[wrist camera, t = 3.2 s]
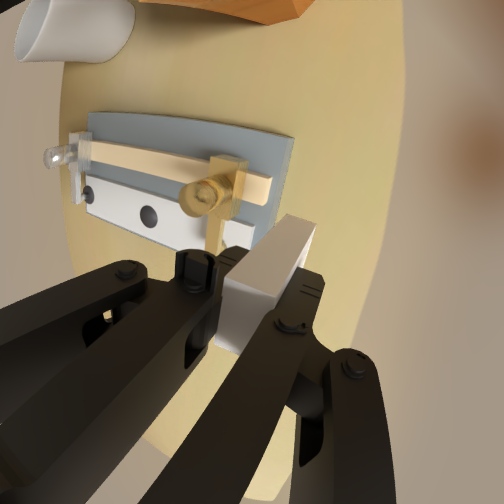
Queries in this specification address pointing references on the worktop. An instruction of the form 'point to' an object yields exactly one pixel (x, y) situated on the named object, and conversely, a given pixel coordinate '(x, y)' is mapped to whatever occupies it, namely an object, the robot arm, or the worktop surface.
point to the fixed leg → (73, 160)
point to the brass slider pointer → (216, 197)
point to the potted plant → (230, 8)
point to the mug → (73, 30)
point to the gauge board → (179, 176)
